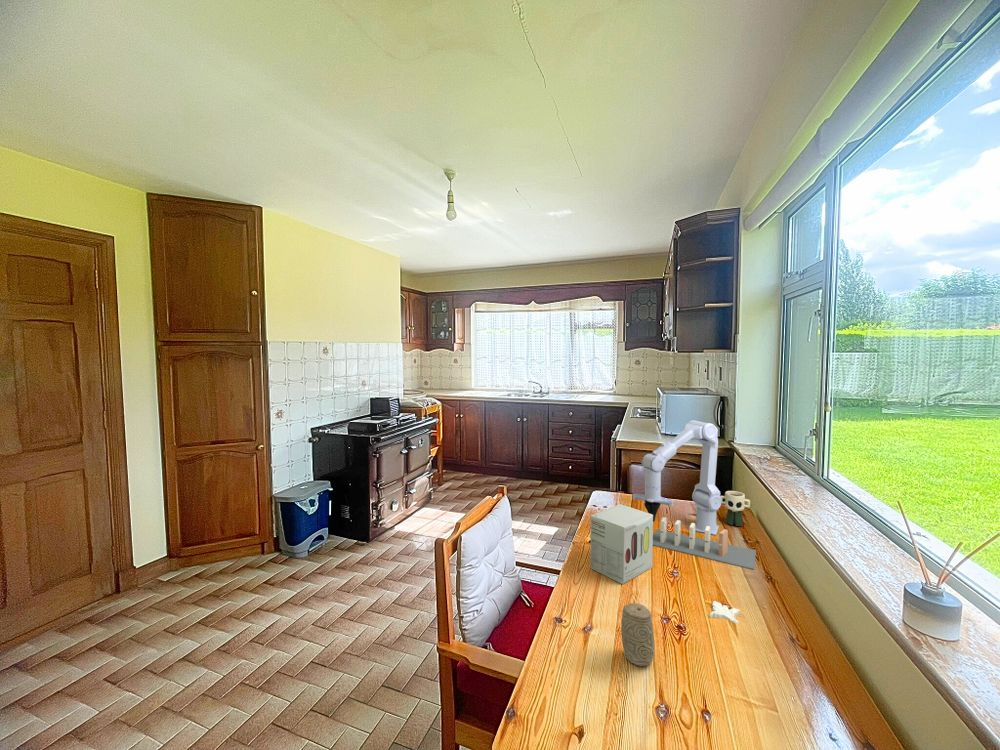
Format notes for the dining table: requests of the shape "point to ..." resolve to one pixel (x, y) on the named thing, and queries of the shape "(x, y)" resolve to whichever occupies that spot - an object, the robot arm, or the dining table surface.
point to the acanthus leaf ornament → (724, 612)
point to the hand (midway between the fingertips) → (652, 520)
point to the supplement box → (621, 542)
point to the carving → (637, 634)
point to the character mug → (735, 507)
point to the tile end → (723, 542)
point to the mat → (733, 556)
